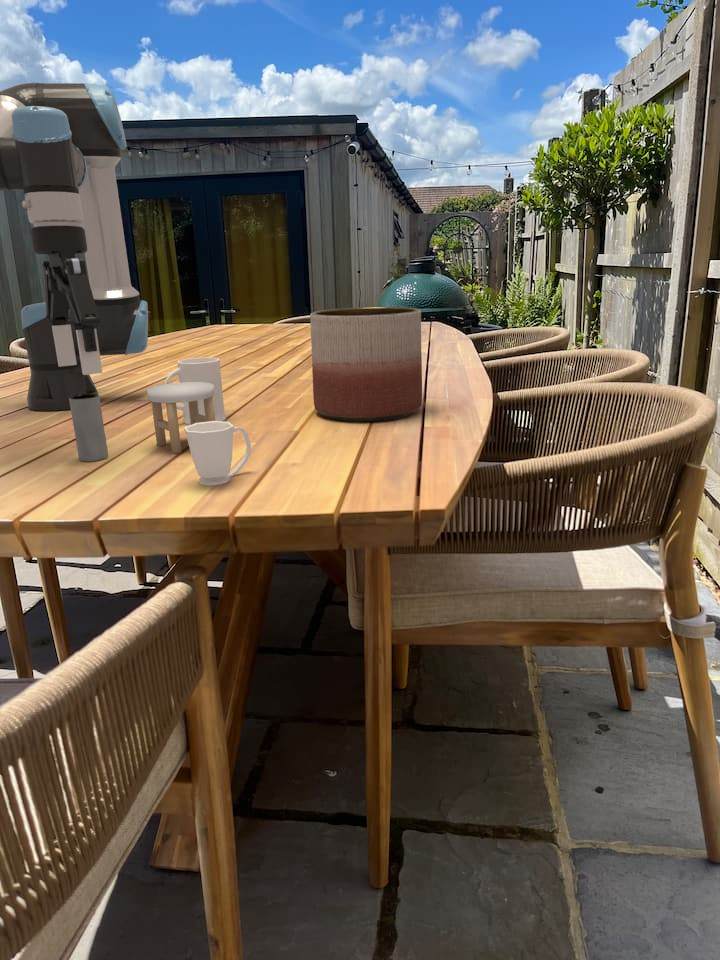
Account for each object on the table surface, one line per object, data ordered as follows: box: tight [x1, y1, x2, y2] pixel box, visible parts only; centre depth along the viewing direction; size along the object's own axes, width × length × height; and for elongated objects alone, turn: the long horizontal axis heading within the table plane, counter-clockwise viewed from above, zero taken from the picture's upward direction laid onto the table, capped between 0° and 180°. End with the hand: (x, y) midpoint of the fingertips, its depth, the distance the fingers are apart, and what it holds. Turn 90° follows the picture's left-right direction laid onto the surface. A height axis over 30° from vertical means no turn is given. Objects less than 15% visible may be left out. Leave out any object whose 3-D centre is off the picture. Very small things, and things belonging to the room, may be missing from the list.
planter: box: [309, 306, 423, 422], centre depth 136 cm, size 22×22×20 cm
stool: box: [146, 382, 215, 454], centre depth 116 cm, size 11×11×10 cm
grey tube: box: [69, 393, 109, 463], centre depth 110 cm, size 4×4×10 cm
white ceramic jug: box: [163, 356, 227, 426], centre depth 133 cm, size 12×8×12 cm
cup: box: [183, 421, 252, 487], centre depth 98 cm, size 7×10×8 cm
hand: (79, 369), depth 107 cm, fingers open, 13 cm apart
